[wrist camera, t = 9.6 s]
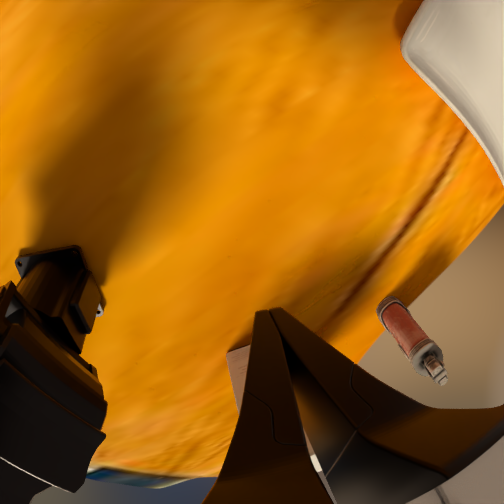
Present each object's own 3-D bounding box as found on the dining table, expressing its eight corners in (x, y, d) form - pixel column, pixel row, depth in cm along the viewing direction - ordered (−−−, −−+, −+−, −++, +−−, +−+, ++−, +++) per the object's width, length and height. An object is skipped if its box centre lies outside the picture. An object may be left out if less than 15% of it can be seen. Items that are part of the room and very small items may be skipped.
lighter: (370, 311, 29) (420, 381, 21) (394, 289, 28) (449, 356, 20) (393, 337, 33) (434, 396, 25) (413, 320, 32) (458, 376, 24)
